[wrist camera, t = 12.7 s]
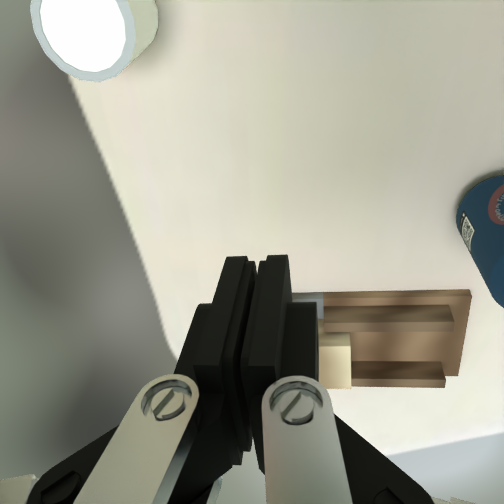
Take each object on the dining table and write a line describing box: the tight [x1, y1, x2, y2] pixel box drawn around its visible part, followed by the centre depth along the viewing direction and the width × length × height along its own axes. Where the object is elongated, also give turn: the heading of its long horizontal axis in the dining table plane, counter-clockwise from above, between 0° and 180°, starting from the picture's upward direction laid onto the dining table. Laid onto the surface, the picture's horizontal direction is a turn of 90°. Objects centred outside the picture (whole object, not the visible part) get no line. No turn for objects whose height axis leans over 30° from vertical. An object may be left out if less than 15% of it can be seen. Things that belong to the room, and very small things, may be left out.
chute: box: [292, 290, 472, 388], centre depth 47 cm, size 23×11×4 cm, turn 97°
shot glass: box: [30, 0, 158, 82], centre depth 31 cm, size 7×7×7 cm
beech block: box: [318, 319, 351, 389], centre depth 47 cm, size 6×6×4 cm
